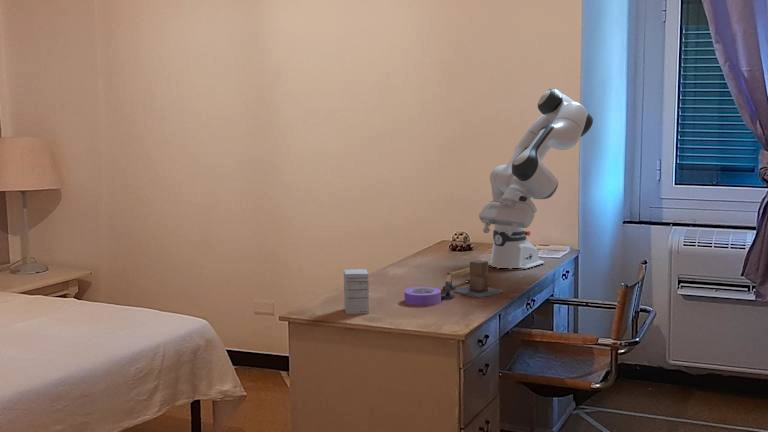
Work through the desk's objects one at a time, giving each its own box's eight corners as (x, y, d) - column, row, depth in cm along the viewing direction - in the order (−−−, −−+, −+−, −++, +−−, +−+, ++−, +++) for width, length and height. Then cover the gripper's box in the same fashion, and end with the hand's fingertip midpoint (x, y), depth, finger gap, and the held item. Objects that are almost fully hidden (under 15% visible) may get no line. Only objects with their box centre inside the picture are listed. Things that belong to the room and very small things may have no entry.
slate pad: (478, 287, 313) (478, 285, 313) (504, 292, 304) (504, 291, 304) (453, 292, 306) (453, 290, 305) (479, 298, 296) (479, 296, 296)
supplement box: (344, 308, 284) (343, 269, 282) (367, 308, 284) (367, 268, 283) (345, 314, 276) (344, 273, 275) (369, 313, 277) (368, 273, 275)
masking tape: (429, 308, 285) (429, 296, 284) (397, 303, 291) (397, 292, 290) (447, 300, 294) (447, 289, 294) (415, 296, 301) (415, 285, 300)
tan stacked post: (477, 288, 308) (477, 260, 306) (487, 290, 305) (488, 261, 304) (469, 291, 305) (469, 261, 303) (480, 292, 302) (480, 263, 300)
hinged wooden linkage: (458, 279, 327) (458, 264, 326) (478, 280, 324) (478, 265, 323) (429, 297, 298) (429, 281, 297) (451, 299, 295) (451, 283, 294)
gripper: (486, 194, 321) (468, 224, 316) (533, 198, 307) (516, 230, 302) (493, 205, 325) (476, 235, 320) (541, 210, 311) (524, 242, 305)
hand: (496, 233), depth 310 cm, fingers open, 8 cm apart
